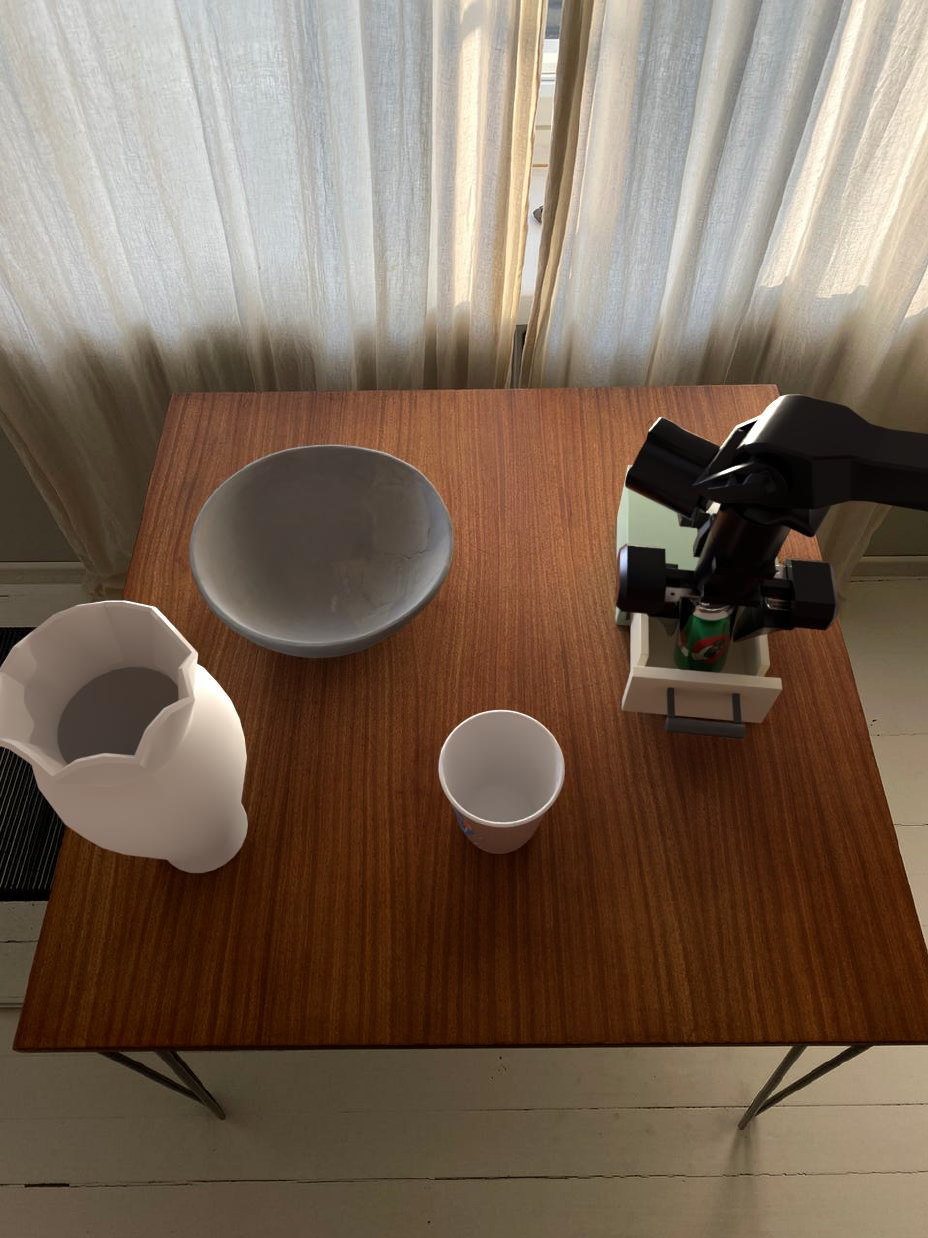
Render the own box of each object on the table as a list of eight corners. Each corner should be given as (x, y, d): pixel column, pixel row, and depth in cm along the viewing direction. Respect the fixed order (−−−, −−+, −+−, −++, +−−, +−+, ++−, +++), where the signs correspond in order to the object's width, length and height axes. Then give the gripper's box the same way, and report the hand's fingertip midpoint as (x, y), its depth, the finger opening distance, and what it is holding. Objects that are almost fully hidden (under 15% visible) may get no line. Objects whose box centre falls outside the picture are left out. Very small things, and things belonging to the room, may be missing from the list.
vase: (301, 768, 84) (231, 597, 60) (259, 923, 76) (158, 799, 52) (155, 748, 85) (28, 573, 61) (99, 898, 78) (-73, 766, 53)
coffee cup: (441, 769, 84) (437, 711, 74) (548, 764, 84) (558, 706, 74) (444, 875, 78) (440, 829, 68) (559, 870, 78) (571, 823, 68)
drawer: (765, 765, 83) (787, 734, 77) (621, 752, 84) (632, 720, 78) (751, 608, 93) (769, 569, 87) (622, 598, 94) (632, 559, 88)
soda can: (735, 656, 87) (752, 586, 77) (706, 690, 86) (719, 624, 76) (692, 629, 90) (703, 559, 80) (663, 663, 88) (670, 595, 78)
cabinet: (756, 636, 92) (781, 588, 84) (615, 624, 93) (627, 575, 85) (746, 527, 100) (768, 474, 92) (616, 517, 101) (628, 464, 93)
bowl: (243, 493, 103) (222, 432, 95) (464, 506, 102) (463, 445, 94) (186, 687, 89) (157, 635, 81) (443, 705, 88) (440, 654, 79)
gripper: (851, 469, 74) (792, 575, 88) (631, 451, 75) (606, 559, 89) (869, 575, 68) (803, 672, 82) (631, 554, 69) (603, 653, 83)
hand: (701, 635), depth 84 cm, fingers open, 6 cm apart
